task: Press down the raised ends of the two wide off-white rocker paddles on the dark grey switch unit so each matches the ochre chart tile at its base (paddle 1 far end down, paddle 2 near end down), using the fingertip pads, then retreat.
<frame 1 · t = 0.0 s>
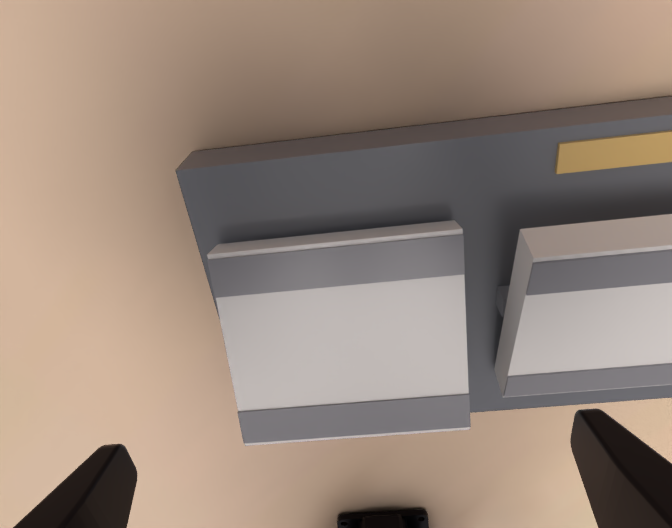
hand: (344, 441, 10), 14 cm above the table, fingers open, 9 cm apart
rocker 2: (345, 338, 21), point 5 cm above the table, hinge at 13.0°
switch unit: (462, 269, 24), on the table
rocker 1: (633, 313, 20), point 5 cm above the table, hinge at -13.0°
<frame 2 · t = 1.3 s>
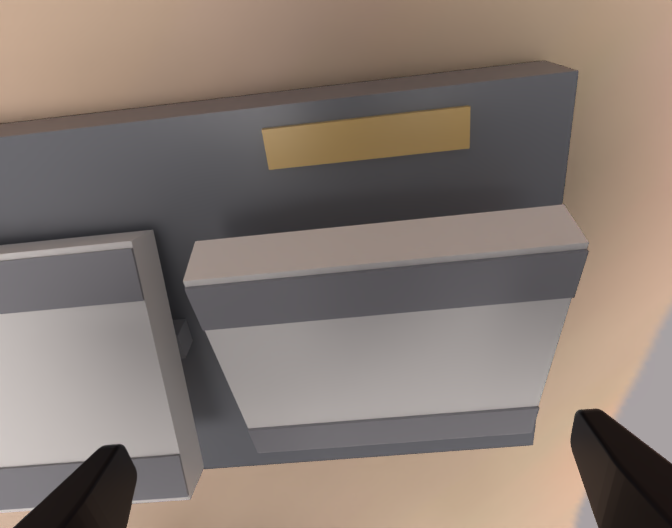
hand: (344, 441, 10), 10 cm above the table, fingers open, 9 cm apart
rocker 2: (25, 381, 16), point 5 cm above the table, hinge at 13.0°
switch unit: (229, 291, 20), on the table
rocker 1: (385, 351, 15), point 5 cm above the table, hinge at -13.0°
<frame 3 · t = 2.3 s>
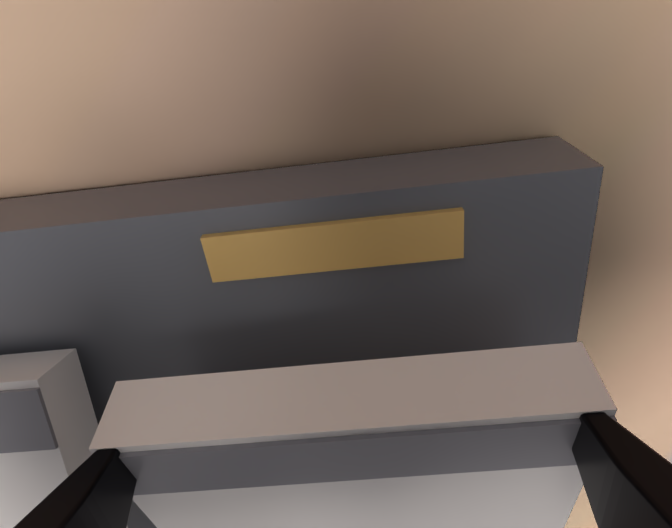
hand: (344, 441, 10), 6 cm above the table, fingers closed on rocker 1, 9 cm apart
switch unit: (186, 387, 17), on the table
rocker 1: (361, 496, 13), point 5 cm above the table, hinge at -10.8°, touching gripper
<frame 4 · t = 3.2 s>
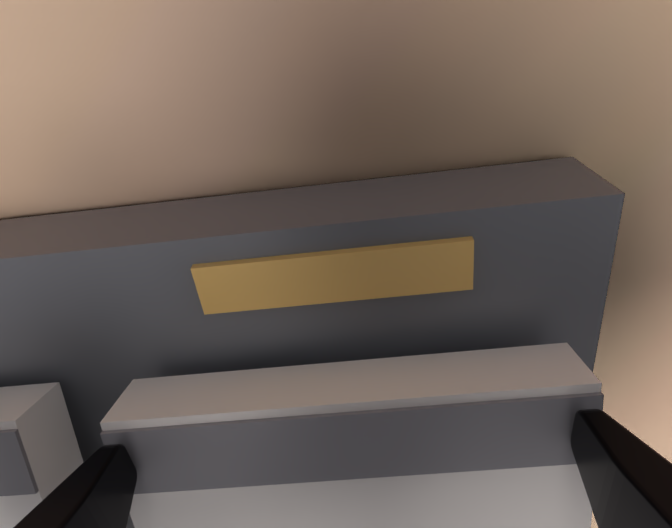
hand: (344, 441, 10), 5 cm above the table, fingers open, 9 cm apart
switch unit: (179, 415, 16), on the table
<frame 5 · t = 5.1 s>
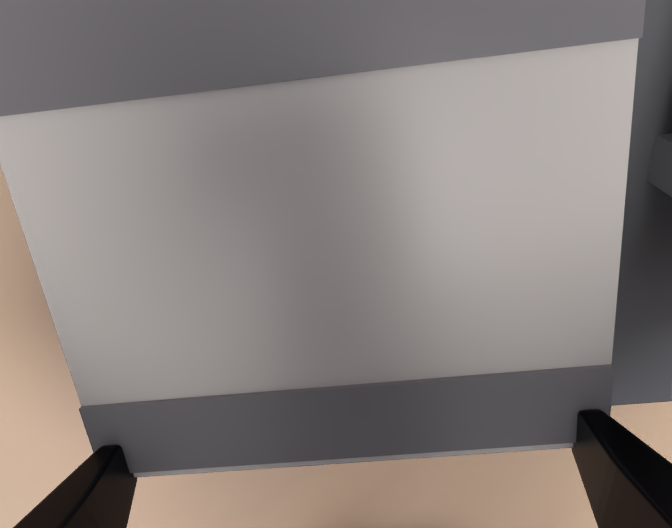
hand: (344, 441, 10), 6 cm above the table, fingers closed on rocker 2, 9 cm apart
rocker 2: (321, 237, 9), point 5 cm above the table, hinge at 11.4°, touching gripper
switch unit: (557, 131, 13), on the table
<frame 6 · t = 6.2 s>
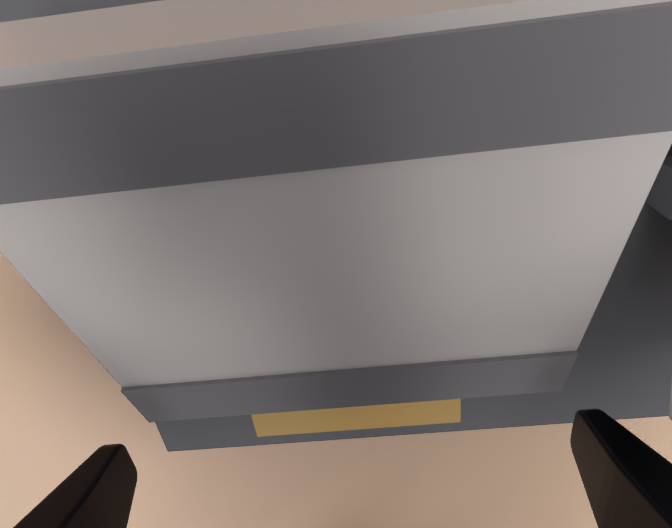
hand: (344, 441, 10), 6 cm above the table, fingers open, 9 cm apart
rocker 2: (325, 260, 9), point 5 cm above the table, hinge at -17.1°
switch unit: (556, 150, 13), on the table
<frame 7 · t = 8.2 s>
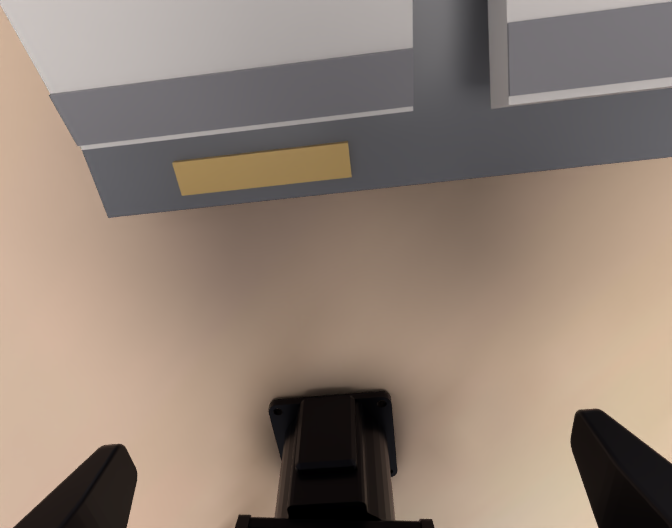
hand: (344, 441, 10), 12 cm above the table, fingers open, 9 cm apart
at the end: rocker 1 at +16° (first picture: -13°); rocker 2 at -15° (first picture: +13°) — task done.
